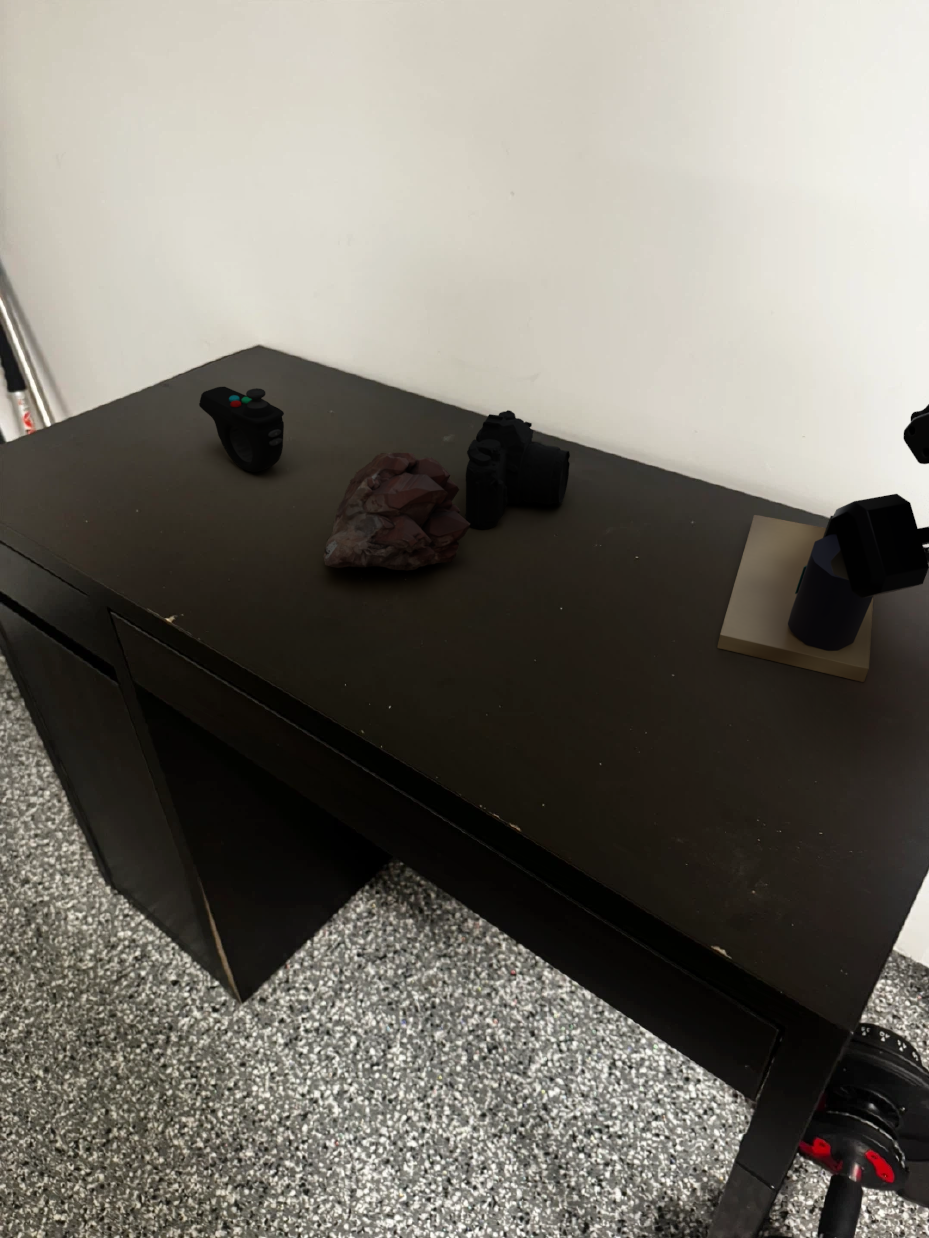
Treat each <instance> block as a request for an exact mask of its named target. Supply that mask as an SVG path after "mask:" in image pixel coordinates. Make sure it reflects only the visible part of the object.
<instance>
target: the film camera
mask: <svg viewBox="0 0 929 1238" xmlns="http://www.w3.org/2000/svg"><path fill="white" fill-rule="evenodd" d="M532 425H533V423H532V422H529V421H525V420H523V419H521V418H518V417H517V416H516V414H515V413H514V412H513V411H512V410H510V409H507V410H505V411H501V412H499V413H498V414H491V413H489V414H488V415H487V417H486V419H485V421H483V422H482V427H481V428H480V429H479V430H478V432H477V433H476V436H475V439H473V440H472V441H471V443H470V444H469V446H468V448H467V450H466V454H467V457H468V459H469V460H468V462H467V465H466V469H465V514H464V519H465V520H466V521H468V522H469V523H470V526H469V527H471V528H473V529H479V530H490V529H492V528H494V527H496V526H497V523H498V522H499V520H500V519H501V518H502V517H503V516H504V509H505V508H506V506H507V505H509V504H515V505H520V503H521V502H523V501H524V502H525V503H537V504H543V505H553V504H562V503H563V501H564V498H565V495H566V491H567V488H568V481H569V474H570V465H571V463H570V457H571V454H570V453H571V452H570V450H563V449H561V448H560V447H559V446H553V445H543V444H541V443H539V442H533V438H534V429H533V428H532Z"/></svg>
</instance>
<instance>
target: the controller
mask: <svg viewBox="0 0 929 1238" xmlns="http://www.w3.org/2000/svg"><path fill="white" fill-rule="evenodd" d="M265 396H266V391H265V389H262V388H257V387H256V388H250V389H248V390H247V391H246V393H245V394H244V393H241V392H238V391H237V390H234V389H231V388H229V387H227V386H217V387H214V388H210V389H207V390H204V391H203V392H202V393H201V395H200V399H199V403H198V406H199V408H201V409H202V411H204V412H205V413H206V414H207V415H208V416H209V417H211V419H212V420H213V421H214V424H215V428H216V432H217V436H218V439H219V440H220V443H221V444H222V447H223V449H224V450H225V452H226V453H227V455H228V456H229V457H230V459H231V460H232V461H233V462H234V463H235V464H236V465H237V466H238V467H240V468H241V469H243V470H244V471H248V472H253V473H258V472H262V471H264V470H267V469H269V468H271V467H273V466H274V465H275V464H277V463H278V461H279V460H280V459H281V456H282V454H283V449H284V448H283V447H284V429H285V424H284V421H283V420H284V419H283V416H284V415H285V412H284V410H282V409H280V408H279V407H277V406H275V405H273V404H271V403H270V402H268V401H267V400H265V399H263V398H264V397H265Z"/></svg>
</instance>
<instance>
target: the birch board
mask: <svg viewBox="0 0 929 1238" xmlns="http://www.w3.org/2000/svg"><path fill="white" fill-rule="evenodd" d="M752 517H753V518H752V521H751V524H750V528H749V532H748V535H747V538H746V542H745V546H744V549H743V552H742V556H741V560H740V563H739V567H738V570H737V574H736V577H735V581H734V583H733V588H732V590H731V595H730V598H729V601H728V605H727V609H726V613H725V615H724V618H723V619H724V620H723V622H722V626H721V630H720V633H719V637H718V642H717V646H716V648H717V649H720V650H724V651H729V652H733V653H737V654H740V655H746V656H750V657H754V658H759V659H762V660H768V661H772V662H776V663H779V664H784V665H787V666H793V667H797V668H801V669H806V670H810V671H814V672H818V673H823V674H827V675H831V676H836V677H841V678H844V679H848V680H853V681H856V682H861V683H865V681H866V678H867V675H868V673H869V670H870V656H871V641H872V626H873V625H872V624H873V608H874V597H873V598H872V600H871V603H870V605H869V607H868V610H867V612H866V614H865V617H864V619H863V621H862V624H861V626H860V628H859V631H858V633H857V635H856V638H855V640H854V642H853V643H852V644H850V645H848V646H846V647H844V648H842V649H840V650H838V651H826V650H823V649H819V648H816V647H813V646H809V645H806V644H805V643H804V642H803V641H801V640H800V639H799V638H798V637H797V636H796V635H795V634H793V633H792V632H791V630H790V628H789V626H788V621H789V617H790V613H791V610H792V607H793V604H794V601H795V598H796V595H797V594H795V592H796V589H797V586H798V583H799V580H800V577H801V574H802V571H803V568H804V566H806V565H807V563H808V560H809V557H810V554H811V551H812V548H813V546H814V543H815V541H817V540H819V539H822V538H823V536H824V533H825V530H826V527H822V526H817V525H812V524H807V523H801V522H797V521H790V520H784V519H780V518H774V517H768V516H763V515H758V514H754V515H753V516H752Z"/></svg>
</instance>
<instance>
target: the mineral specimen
mask: <svg viewBox="0 0 929 1238" xmlns="http://www.w3.org/2000/svg"><path fill="white" fill-rule="evenodd" d="M450 477H451V473H450V472H449V471H448V470H447V469H446V468H445V467H444V466H443V465H442V464H441V463H440V462H439V461H438V460H437V459H435V458H434V457H432V456H431V457H430V456H429V457H422V458H416V455H415V453H414V452H381V453H379V454H376V455H375V456H374V458H372V460H371V461H370V462H368V464H366V465H364V466H363V467H361V468H360V469H357V470H356V471H355V474H354V476H353V478H350V480H349V483H348V485H347V488H346V490H345V493H344V496H343V498H342V500H341V501H340V502H339V505H338V508H337V510H336V513H335V516H334V521H333V526H332V532H331V535H330V536H329V538H328V540H327V541H326V544H325V547H324V553H323V557H322V559H324V566H327V567H331V568H336V569H342V568H346V567H351V568H369V567H379V568H380V567H381V568H386V569H389V570H395V571H406V572H408V571H414V570H417V569H418V568H419V567H426V566H428V565H435V564H442V563H443V564H444V563H452V562H453V561H454V559H455V558H456V556H457V552H458V550H459V546H460V543H459V540H461V539H462V538H463V537H465V535H466V533H467V531H468V530H469V528H470V527H471V526H470V523H469V522H468V521H466V518H465V517H463V516H462V515H461V514H460V512H461V509H460V508H459V507H458V506H457V505H456V504H454V503H453V500H454V499H455V498H456V496H457V494H458V493H459V492H460V488H459V486H458V485H457V484H456V483H455V482H454V481H453V480H452V479H451V478H450Z"/></svg>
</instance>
